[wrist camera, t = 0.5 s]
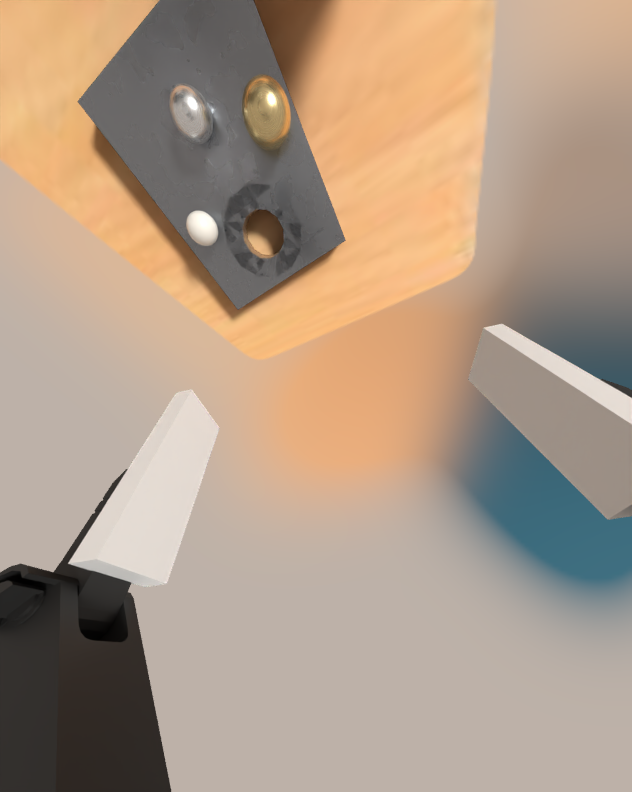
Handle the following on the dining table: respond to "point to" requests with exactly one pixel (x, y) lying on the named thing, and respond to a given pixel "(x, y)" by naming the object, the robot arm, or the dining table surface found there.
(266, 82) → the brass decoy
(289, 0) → the dining table surface
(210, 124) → the steel ball
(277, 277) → the plate
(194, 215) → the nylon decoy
